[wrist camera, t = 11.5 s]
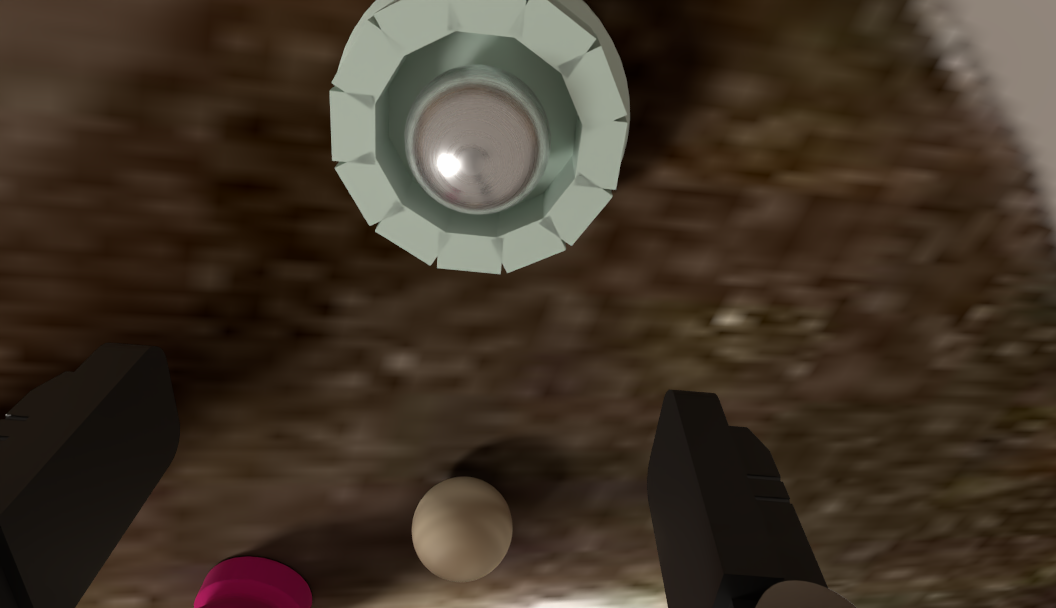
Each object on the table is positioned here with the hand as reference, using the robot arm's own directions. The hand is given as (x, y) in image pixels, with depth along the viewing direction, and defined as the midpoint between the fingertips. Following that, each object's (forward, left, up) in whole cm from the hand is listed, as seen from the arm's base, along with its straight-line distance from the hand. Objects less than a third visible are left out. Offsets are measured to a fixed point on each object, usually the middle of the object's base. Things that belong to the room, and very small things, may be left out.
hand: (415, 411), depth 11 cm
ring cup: (0, 0, -18) cm, 18 cm away
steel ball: (0, 0, -17) cm, 17 cm away
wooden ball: (-10, +17, -18) cm, 27 cm away
